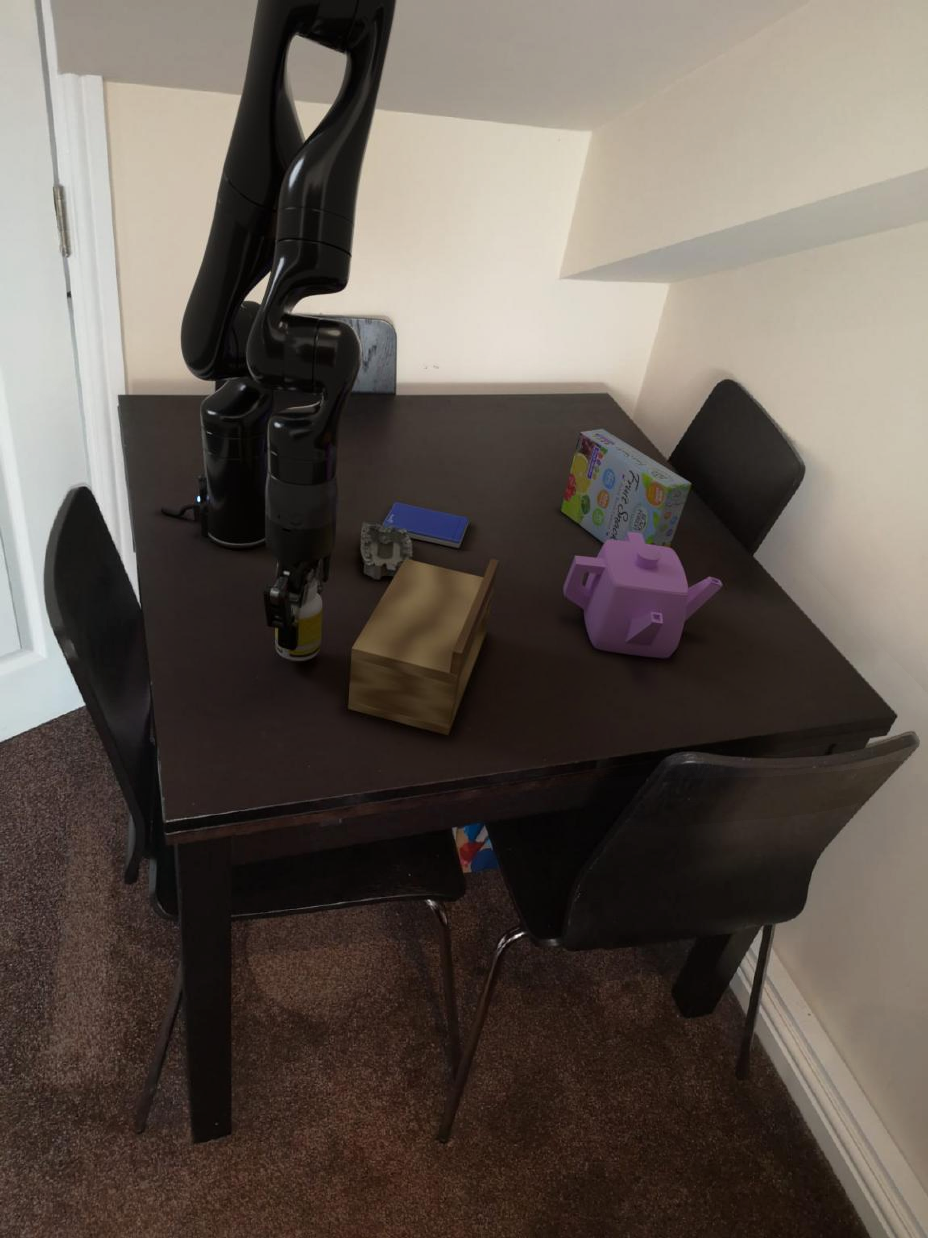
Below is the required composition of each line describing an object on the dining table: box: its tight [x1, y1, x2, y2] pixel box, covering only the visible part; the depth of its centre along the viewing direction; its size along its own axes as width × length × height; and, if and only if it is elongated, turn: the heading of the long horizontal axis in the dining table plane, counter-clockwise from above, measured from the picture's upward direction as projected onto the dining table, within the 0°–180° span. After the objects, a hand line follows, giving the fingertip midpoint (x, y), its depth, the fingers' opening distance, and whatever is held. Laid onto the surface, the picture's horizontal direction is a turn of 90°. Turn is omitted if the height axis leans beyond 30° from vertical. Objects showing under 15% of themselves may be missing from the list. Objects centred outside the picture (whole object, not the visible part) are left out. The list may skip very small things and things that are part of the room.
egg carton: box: [360, 521, 413, 580], centre depth 117 cm, size 11×8×4 cm
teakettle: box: [562, 531, 723, 659], centre depth 109 cm, size 17×17×12 cm
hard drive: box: [381, 502, 470, 549], centre depth 127 cm, size 2×8×12 cm
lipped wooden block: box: [347, 558, 500, 736], centre depth 95 cm, size 12×20×12 cm, turn 167°
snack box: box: [560, 428, 692, 548], centre depth 128 cm, size 21×6×15 cm, turn 33°
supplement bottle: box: [274, 577, 323, 662], centre depth 93 cm, size 5×5×10 cm
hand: (298, 632), depth 95 cm, fingers closed on supplement bottle, 5 cm apart
